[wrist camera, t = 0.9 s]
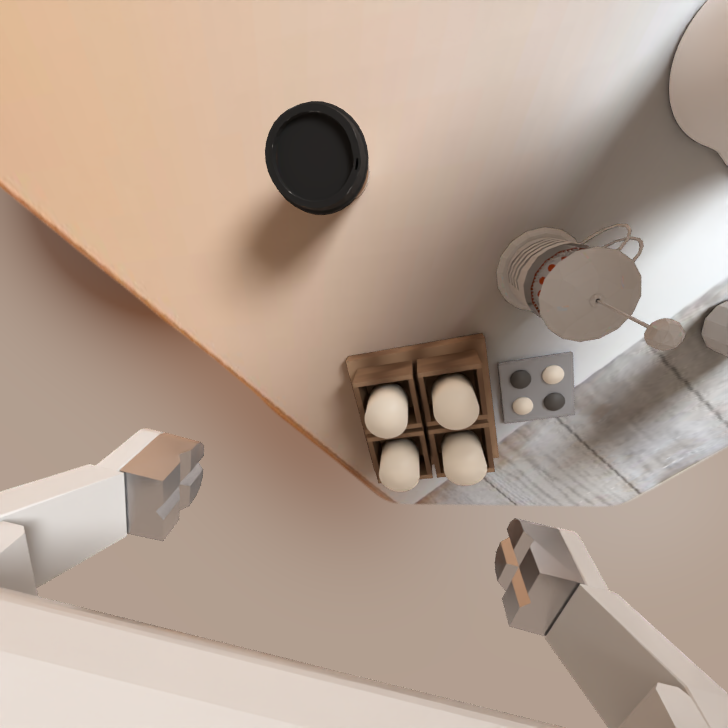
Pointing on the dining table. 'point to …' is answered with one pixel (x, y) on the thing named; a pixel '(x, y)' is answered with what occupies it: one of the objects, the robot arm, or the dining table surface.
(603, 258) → the french press
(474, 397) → the button
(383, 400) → the button
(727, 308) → the water bottle
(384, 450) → the button
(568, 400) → the pattern card
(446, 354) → the button board
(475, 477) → the button
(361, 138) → the coffee cup
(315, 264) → the dining table surface
